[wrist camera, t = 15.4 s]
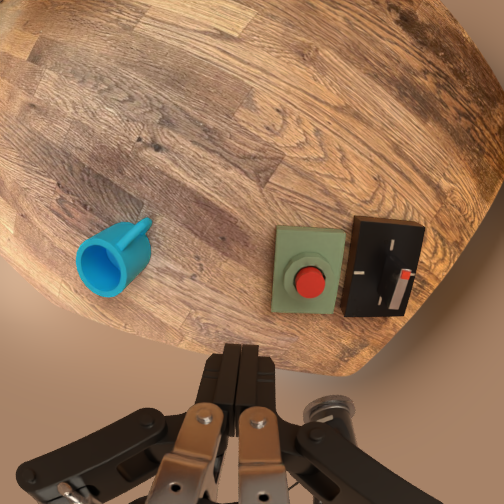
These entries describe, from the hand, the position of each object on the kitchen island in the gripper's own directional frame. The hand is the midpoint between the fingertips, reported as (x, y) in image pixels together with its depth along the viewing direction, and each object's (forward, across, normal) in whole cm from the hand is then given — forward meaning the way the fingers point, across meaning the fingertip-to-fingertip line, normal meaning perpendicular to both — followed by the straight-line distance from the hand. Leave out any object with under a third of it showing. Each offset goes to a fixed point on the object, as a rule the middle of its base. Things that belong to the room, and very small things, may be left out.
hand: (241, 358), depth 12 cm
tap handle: (+23, -18, +6) cm, 30 cm away
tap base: (+26, -18, +6) cm, 33 cm away
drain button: (+23, -7, +7) cm, 25 cm away
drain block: (+27, -7, +7) cm, 28 cm away
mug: (+27, +18, +4) cm, 33 cm away
